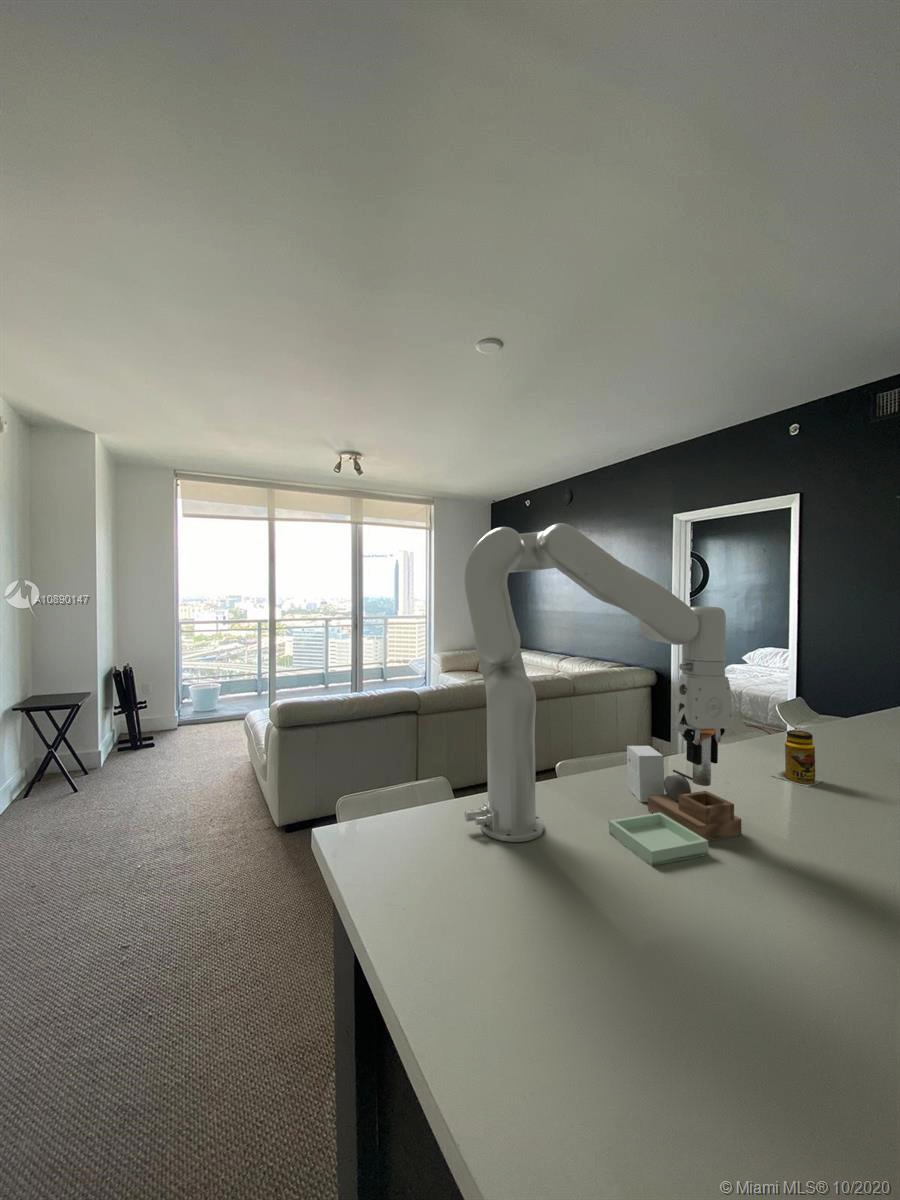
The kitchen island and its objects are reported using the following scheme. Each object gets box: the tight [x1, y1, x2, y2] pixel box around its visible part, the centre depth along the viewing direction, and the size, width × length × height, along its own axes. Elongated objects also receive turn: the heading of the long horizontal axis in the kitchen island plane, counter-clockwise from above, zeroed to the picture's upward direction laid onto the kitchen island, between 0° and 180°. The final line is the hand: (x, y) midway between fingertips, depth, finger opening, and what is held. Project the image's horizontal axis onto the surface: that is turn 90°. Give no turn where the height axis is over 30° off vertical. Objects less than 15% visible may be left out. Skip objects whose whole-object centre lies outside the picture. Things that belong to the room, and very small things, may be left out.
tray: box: [608, 812, 709, 867], centre depth 87 cm, size 12×12×2 cm
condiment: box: [770, 729, 823, 788], centre depth 119 cm, size 7×8×12 cm
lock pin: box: [691, 729, 715, 787], centre depth 93 cm, size 4×4×11 cm
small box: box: [626, 745, 665, 803], centre depth 109 cm, size 8×6×10 cm
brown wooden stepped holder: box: [647, 769, 743, 841], centre depth 96 cm, size 10×14×8 cm
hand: (701, 761), depth 93 cm, fingers closed on lock pin, 3 cm apart
